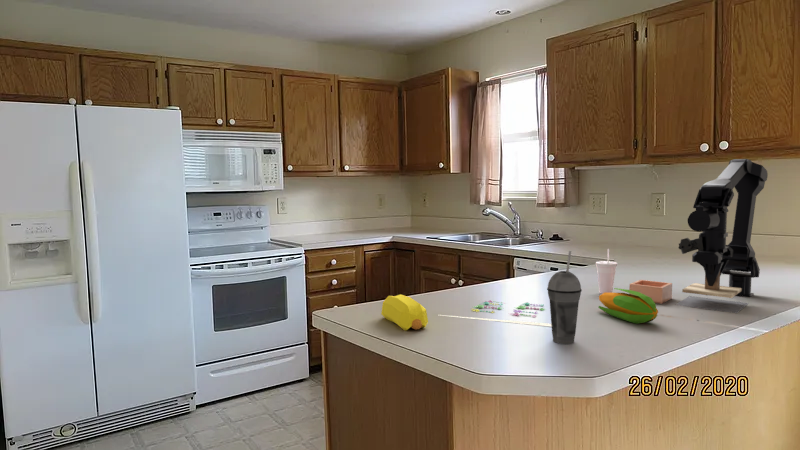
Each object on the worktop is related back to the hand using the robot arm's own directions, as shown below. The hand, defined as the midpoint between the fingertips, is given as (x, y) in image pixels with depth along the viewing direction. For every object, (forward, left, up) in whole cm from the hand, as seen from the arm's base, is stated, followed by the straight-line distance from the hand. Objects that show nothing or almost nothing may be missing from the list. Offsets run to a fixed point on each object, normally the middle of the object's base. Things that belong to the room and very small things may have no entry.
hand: (712, 285), depth 150 cm
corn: (+29, -14, -6) cm, 32 cm away
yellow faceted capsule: (+69, -53, -6) cm, 88 cm away
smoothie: (+2, -29, -6) cm, 30 cm away
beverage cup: (+58, -16, -6) cm, 60 cm away
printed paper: (+39, -42, -7) cm, 58 cm away
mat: (0, 0, -6) cm, 6 cm away
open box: (+4, -15, -6) cm, 17 cm away
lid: (0, 0, -2) cm, 2 cm away
